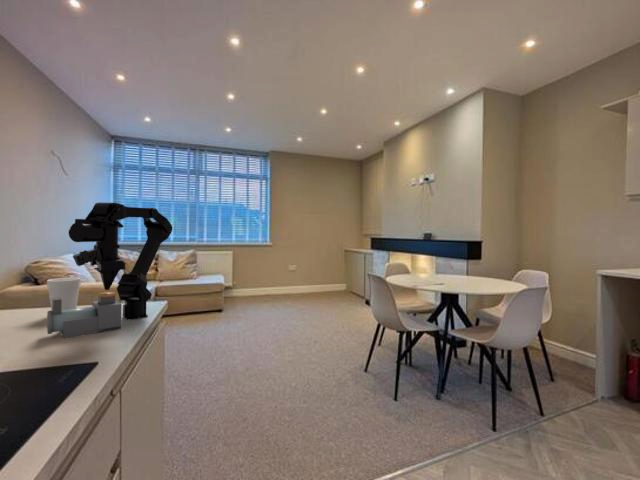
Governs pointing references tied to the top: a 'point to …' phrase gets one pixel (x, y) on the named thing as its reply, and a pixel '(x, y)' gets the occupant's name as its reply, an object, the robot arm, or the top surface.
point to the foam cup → (64, 291)
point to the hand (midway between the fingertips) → (106, 289)
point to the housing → (94, 321)
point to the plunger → (106, 298)
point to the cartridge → (65, 315)
